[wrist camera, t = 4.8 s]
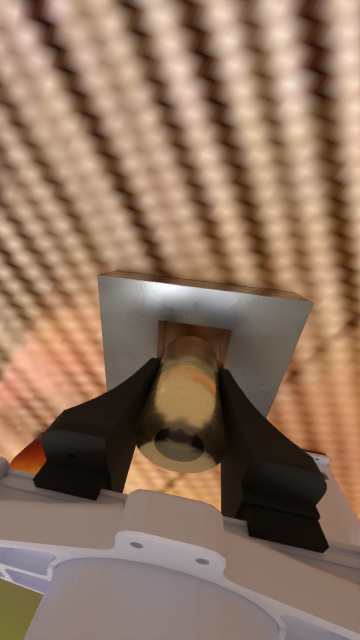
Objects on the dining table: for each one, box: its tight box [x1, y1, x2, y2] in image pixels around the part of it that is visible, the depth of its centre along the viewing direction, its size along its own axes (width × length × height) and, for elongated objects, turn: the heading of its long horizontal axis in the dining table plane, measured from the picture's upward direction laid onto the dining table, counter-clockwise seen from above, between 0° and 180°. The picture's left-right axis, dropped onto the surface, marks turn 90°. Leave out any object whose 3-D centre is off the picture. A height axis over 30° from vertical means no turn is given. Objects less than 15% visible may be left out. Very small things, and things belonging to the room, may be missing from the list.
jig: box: [97, 271, 314, 418], centre depth 17 cm, size 16×12×3 cm
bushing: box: [134, 336, 226, 473], centre depth 12 cm, size 4×4×7 cm
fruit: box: [10, 435, 47, 474], centre depth 26 cm, size 8×8×8 cm
